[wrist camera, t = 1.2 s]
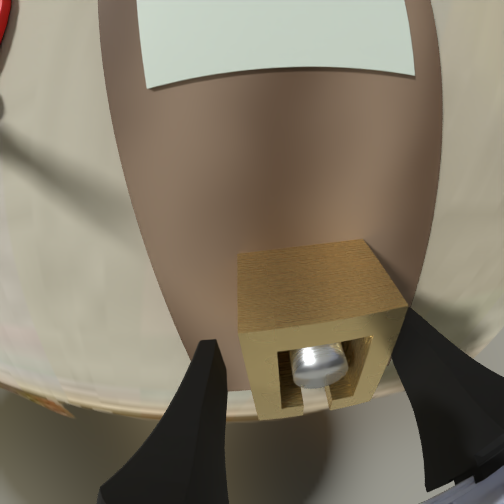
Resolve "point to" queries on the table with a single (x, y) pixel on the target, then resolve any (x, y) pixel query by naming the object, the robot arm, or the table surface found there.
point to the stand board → (272, 168)
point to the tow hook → (4, 15)
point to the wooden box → (315, 320)
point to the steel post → (318, 365)
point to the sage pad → (270, 36)
